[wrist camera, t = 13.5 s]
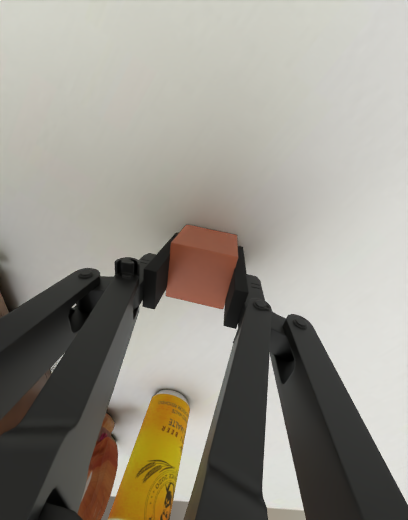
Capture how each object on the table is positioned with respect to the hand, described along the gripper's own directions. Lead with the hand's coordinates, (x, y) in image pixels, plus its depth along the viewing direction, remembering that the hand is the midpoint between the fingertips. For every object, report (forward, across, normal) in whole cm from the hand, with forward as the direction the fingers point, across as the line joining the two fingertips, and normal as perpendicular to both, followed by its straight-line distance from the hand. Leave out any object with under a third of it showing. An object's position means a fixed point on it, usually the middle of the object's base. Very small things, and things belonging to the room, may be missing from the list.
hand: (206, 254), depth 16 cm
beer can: (+1, -1, -26) cm, 26 cm away
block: (0, 0, 0) cm, 0 cm away
